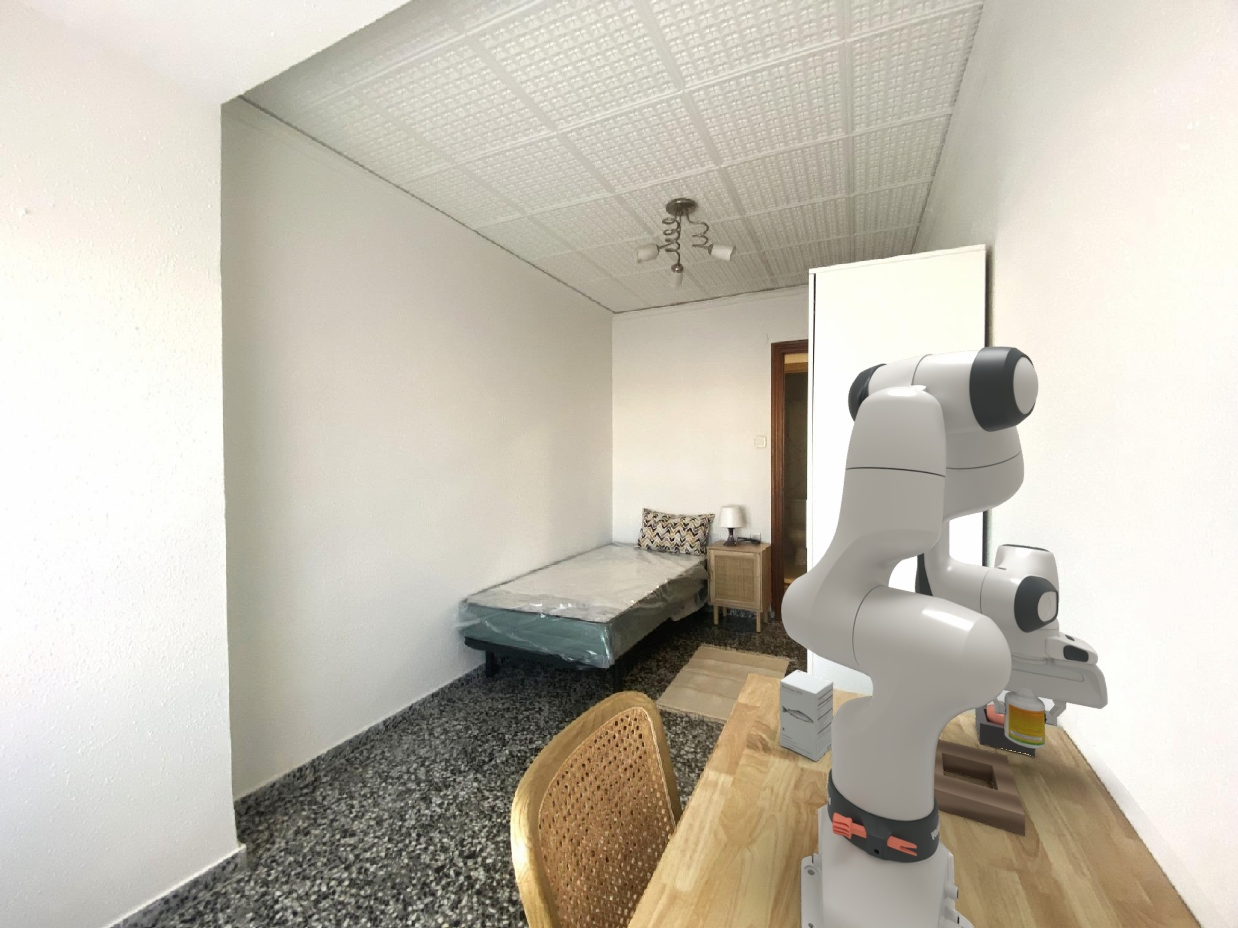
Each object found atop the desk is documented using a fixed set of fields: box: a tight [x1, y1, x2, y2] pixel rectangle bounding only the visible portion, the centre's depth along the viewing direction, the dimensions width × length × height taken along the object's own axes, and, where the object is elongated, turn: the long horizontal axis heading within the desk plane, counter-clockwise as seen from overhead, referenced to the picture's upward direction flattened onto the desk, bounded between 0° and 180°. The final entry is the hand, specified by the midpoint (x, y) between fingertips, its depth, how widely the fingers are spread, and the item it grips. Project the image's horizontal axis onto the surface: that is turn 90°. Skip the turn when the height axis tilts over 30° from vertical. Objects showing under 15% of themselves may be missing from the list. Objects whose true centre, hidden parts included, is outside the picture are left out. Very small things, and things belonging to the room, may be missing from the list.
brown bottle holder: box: [934, 738, 1026, 837], centre depth 79 cm, size 16×12×3 cm
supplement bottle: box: [1003, 688, 1046, 750], centre depth 83 cm, size 5×5×10 cm
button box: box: [974, 705, 1036, 758], centre depth 92 cm, size 8×8×4 cm
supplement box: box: [779, 669, 834, 762], centre depth 91 cm, size 7×7×13 cm
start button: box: [986, 703, 1004, 725], centre depth 92 cm, size 5×5×3 cm
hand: (1024, 718), depth 83 cm, fingers closed on supplement bottle, 5 cm apart
